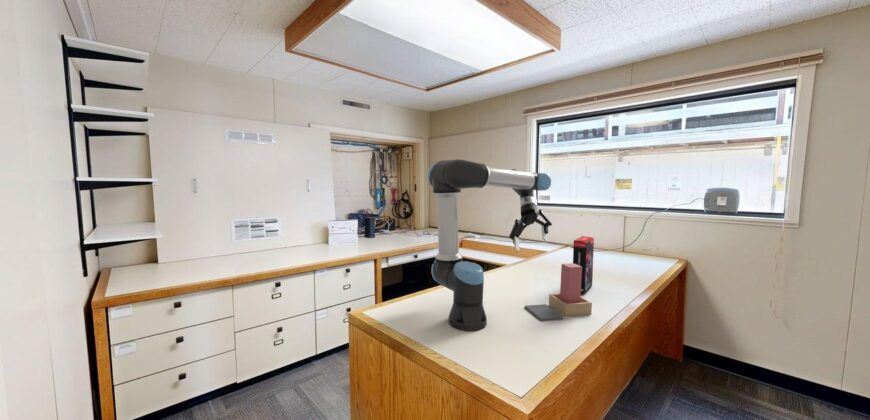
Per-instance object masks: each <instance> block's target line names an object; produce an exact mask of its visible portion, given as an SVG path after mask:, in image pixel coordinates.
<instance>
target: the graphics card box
mask: <svg viewBox="0 0 870 420" xmlns="http://www.w3.org/2000/svg"><path fill="white" fill-rule="evenodd" d="M572 246H573V252H572V255H573V256H572V263H574V264H576V265H579V266H581V267H582V279H581V295H585V294H587V292H588V291H589V290H590V289H591V288H592V287H593V277H594V276H593V271H594V248H595V247H594V246H595V238H594V237H591V236H585V235H582V236H580V237H577V238H576V239H574V240H573V245H572Z"/></svg>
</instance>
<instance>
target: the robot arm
mask: <svg viewBox="0 0 870 420" xmlns="http://www.w3.org/2000/svg"><path fill="white" fill-rule="evenodd" d="M427 180H428V183H429V184H430V186H432V194H433V195H434V196H435V197H436V208H437V209H436V211H437V215H436V216H437V238H438V241H437V243H438V244H437V245H438V253H437V254H436V255H435V259H434V261H433V263H432V265H431V271H430V273H431V275H432V276H431V277H432V278H433V280H434V281H435V282H436V283H437V284H439V285H440V286H442V287H444V288H447V289H449V290H450V291H452V292H453V302H452V306H451V309H450V311H449V314H448V324H449V325H450V326H451V327H452V328H454V329H458V330H461V331H467V332H471V331H473V332H474V331H479V330H482V329H484V328H486V326H487V325H488V323H487V322H488V320H487V315H486V311H485V308H484V304H483V303H484V301H483V300H484V284H485V283H484V280H485V278H484V277H485V276H484V268H483V267H482V266H481V265H479V264H477V262H476V263H475V262H470V261H467V260H466V261H465V260H464V261H463V255H462V254H461V253H460V251H459V250H460V247H459V242H460V241H459V219H458V218H459V212H458V209H459V208H458V196H459V195H460V194H461V191H462V190H463V189H473V188H475V189H482V188H485V187H491V188H492V187H493V188H496V187H497V188H504V189H505V188H507V189H512V190H513V191H514V192H515V193H516V194H517V195H518V196H519V198H520V199H519V200H520V202H519V203H520V204H519V205H520V219H515V220H514V224H513V227H512V228H511V231H510V233H509V236H508V237H509V239H511V240H512V243H513V245H514V250H515V251H517V252H520V239H519V237H520V236H521V234H522V233H523V231H524V230H525V229H526V228H527V227H529V226H530V225H533V224H535V223H536V224H538V225H540V227H541V239H542V240H543V241H544V242H548V234H549V227H550V226H553V223H552V222H551V221H550V220H549V219H548V217H547V216H546V215H545V211H543V210H542V209H541V208H540V209H538V203H537V202H538V201H537V191H540V192H541V191H547V190H549V189H550V187H551V185H552V177H551V176H550V175H549V174H548V173H545V172H540V173H539V172H531V171H522V170H517V169H515V168H511V169H506V168H499V167H491V166H487V165H486V164H485V163H482V162H475V161H470V160H467V159H466V160H465V159H459V158H458V159H446V160H445V159H442V160H438V161H436V162H434V163H433V164H432V165H431V166H430V168H429V169H428V172H427ZM538 217H541V218H542V219H543V220H544V221H545V222H544V221H542V220H540V219H539V218H538Z"/></svg>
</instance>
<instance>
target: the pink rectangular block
mask: <svg viewBox="0 0 870 420" xmlns="http://www.w3.org/2000/svg"><path fill="white" fill-rule="evenodd" d="M560 270H561V271H560V272H561V273H560V285H559V286H560V290H559V294H560V300H561V301H563V302H564V303H566V304H570V303H580V296H581V295H582V294H581V279H582V267H581V266H579V265H576V264H574V263H573V262H572V263H561V269H560ZM581 297H582V296H581Z"/></svg>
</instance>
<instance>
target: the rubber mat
mask: <svg viewBox="0 0 870 420" xmlns="http://www.w3.org/2000/svg"><path fill="white" fill-rule="evenodd" d="M524 309H526V310H527V312H529V313H530V314H531V315H533V316H535V318H537V319H538V320H539V321H540V322H544V321H546V322H547V321H558V320H559V321H560V320H564V315H561V313H559V312H558V311H557V310H555V309H554V308H552V307H551V306H549V305H547V304H545V303H544V304H532V305H531V304H529V305H528V304H527V305H524Z"/></svg>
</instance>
